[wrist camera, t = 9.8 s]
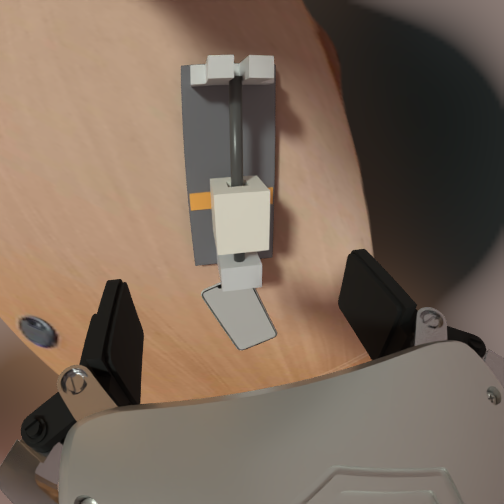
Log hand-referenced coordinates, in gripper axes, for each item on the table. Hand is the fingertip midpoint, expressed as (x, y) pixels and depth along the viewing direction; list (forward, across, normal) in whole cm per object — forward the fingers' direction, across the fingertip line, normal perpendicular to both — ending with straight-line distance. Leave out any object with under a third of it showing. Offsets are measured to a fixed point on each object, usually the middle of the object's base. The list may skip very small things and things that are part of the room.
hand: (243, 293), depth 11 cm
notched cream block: (+20, -3, +4) cm, 21 cm away
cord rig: (+23, -3, +1) cm, 24 cm away
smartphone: (+23, -4, +24) cm, 33 cm away
